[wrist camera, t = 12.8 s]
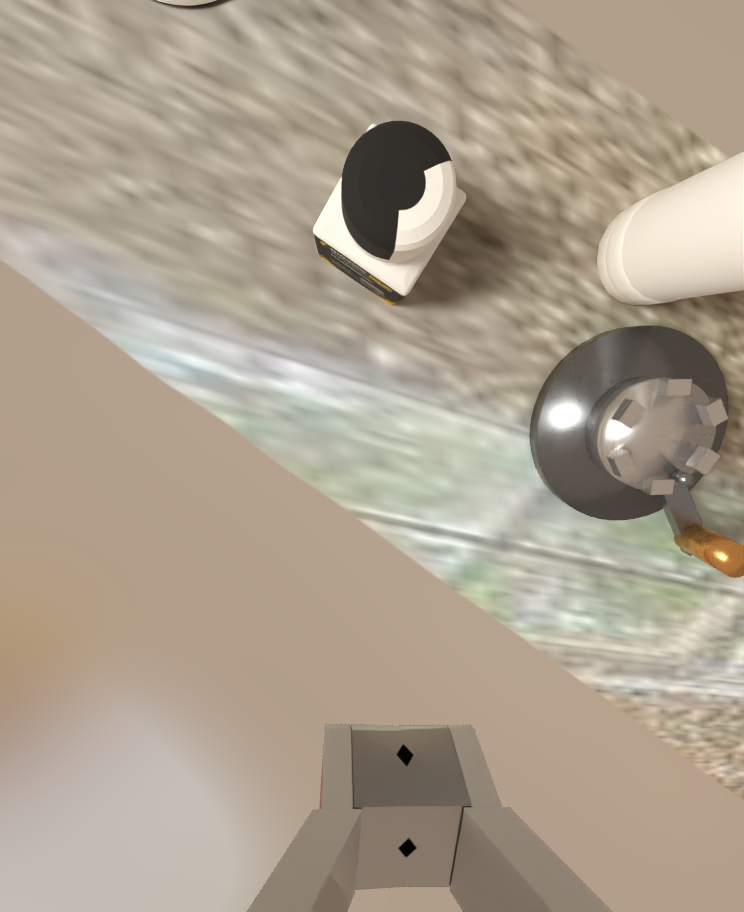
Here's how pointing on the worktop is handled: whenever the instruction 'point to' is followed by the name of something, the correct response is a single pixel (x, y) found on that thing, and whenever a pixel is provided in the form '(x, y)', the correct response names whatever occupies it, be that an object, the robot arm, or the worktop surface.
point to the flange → (580, 388)
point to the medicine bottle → (389, 208)
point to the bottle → (679, 240)
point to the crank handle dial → (664, 454)
